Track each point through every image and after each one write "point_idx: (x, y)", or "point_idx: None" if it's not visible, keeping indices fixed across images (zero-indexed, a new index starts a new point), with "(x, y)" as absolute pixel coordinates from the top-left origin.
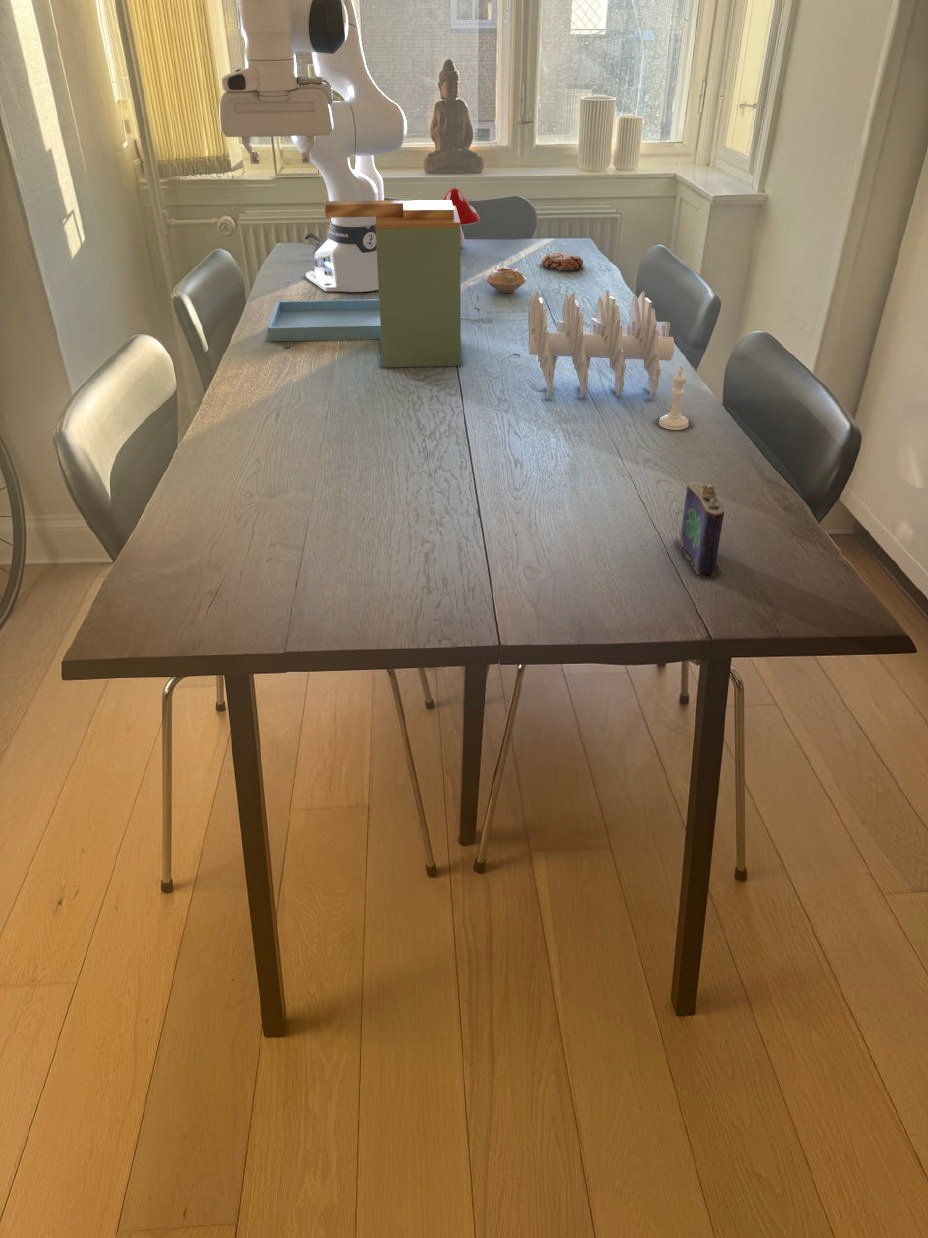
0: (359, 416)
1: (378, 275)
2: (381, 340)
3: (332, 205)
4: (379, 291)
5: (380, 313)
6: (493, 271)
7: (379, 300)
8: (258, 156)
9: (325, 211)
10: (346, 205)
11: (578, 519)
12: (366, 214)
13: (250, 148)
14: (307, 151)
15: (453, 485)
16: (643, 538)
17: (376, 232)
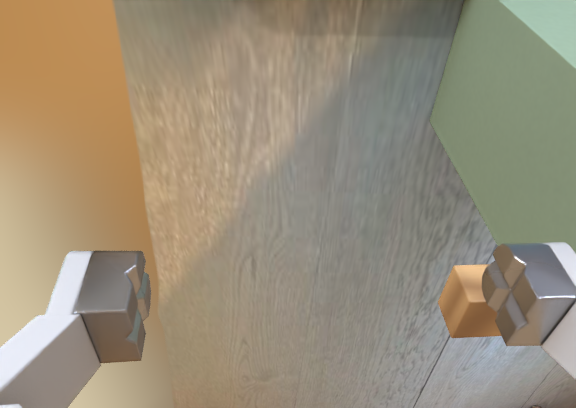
0: (358, 269)
1: (497, 245)
2: (446, 151)
3: (476, 334)
4: (483, 219)
5: (465, 186)
6: None
7: (475, 204)
8: (141, 323)
9: (444, 318)
10: None
11: (486, 392)
12: None
13: (67, 397)
14: (555, 354)
15: (416, 366)
16: (514, 403)
17: None
